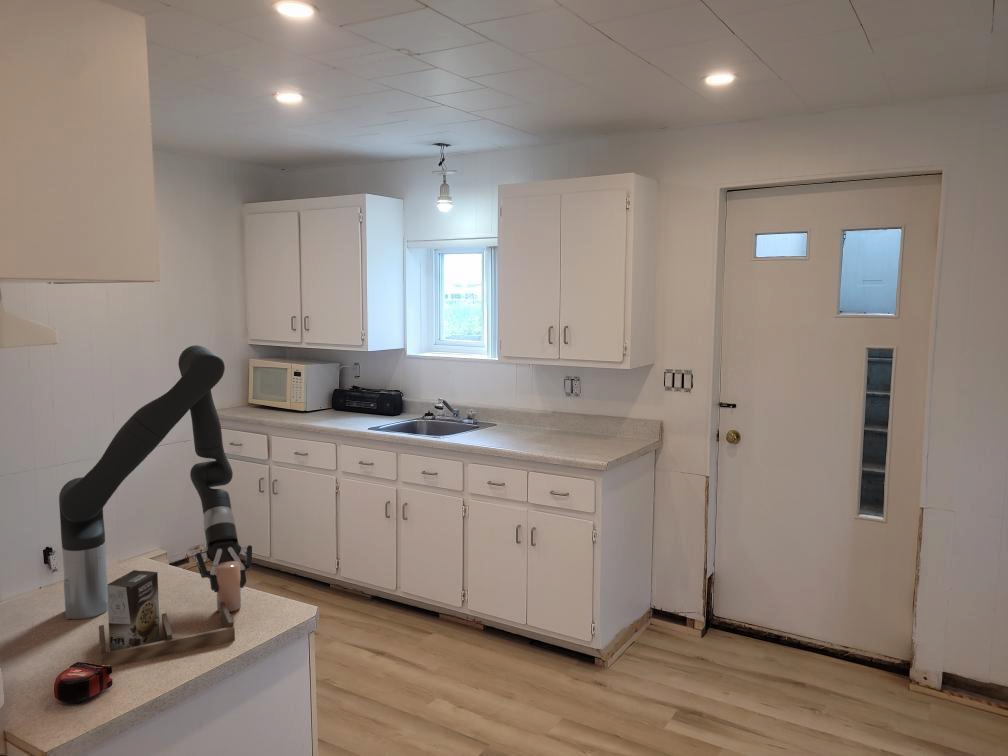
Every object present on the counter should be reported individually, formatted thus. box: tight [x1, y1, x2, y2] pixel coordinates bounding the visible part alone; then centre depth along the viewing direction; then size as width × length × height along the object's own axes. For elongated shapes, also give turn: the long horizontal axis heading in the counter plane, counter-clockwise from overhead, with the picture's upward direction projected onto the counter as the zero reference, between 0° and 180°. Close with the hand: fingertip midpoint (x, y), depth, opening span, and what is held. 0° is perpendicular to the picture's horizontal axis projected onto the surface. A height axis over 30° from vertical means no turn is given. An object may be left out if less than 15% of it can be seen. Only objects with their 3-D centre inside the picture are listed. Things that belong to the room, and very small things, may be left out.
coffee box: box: [107, 569, 161, 652], centre depth 167 cm, size 9×6×16 cm
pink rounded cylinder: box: [215, 561, 242, 613], centre depth 186 cm, size 6×6×11 cm
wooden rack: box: [98, 602, 236, 667], centre depth 170 cm, size 27×13×4 cm, turn 120°
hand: (229, 588), depth 185 cm, fingers closed on pink rounded cylinder, 5 cm apart
